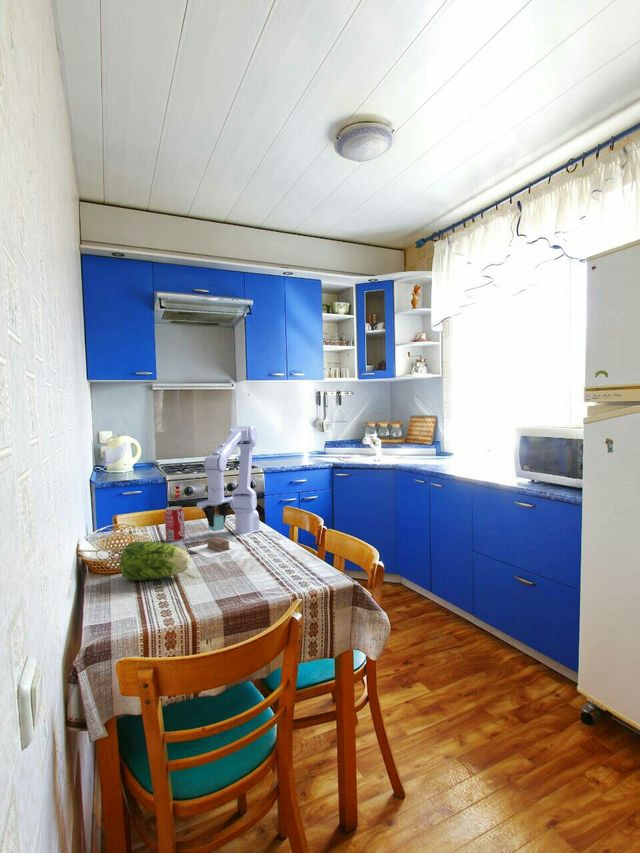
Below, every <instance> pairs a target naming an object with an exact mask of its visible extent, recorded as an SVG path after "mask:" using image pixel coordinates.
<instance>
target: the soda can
mask: <svg viewBox="0 0 640 853" xmlns="http://www.w3.org/2000/svg"><path fill="white" fill-rule="evenodd" d="M164 526H165V541H167V542H168V543H174V542H178V541H179V542H180V541H182V540H183V541H184V540H185V538H186V536H185V535H186V531H185V511H184V509H183V507H182V506H181V505H176V506H175V505H174V506H167V507H166V508H165V512H164Z"/></svg>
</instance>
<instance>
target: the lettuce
mask: <svg viewBox="0 0 640 853" xmlns="http://www.w3.org/2000/svg"><path fill="white" fill-rule="evenodd" d="M190 565H191V555H190V553H189V552H187V551H186V550H185V549H183V548H180V547H179V546H177V545H176V544H172V543H169V542H168V543H167V542H157V541H132V542H131V543H128V545H126V546H124V548H123V549H122V552H121V555H120V559H119V568H120V574H121V576H122V577H124V578H125V579H127V580H128V581H148V580H159V579H166V578H170V577H173V576H175V575H177V574H182V573H183V572H185V571H187V570H188V569H189V568H190Z"/></svg>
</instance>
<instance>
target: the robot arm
mask: <svg viewBox="0 0 640 853" xmlns="http://www.w3.org/2000/svg"><path fill="white" fill-rule="evenodd" d="M257 437H258V436H257V430H256V428H255V426H254V425H249V426H247V425H244V426H243V425H242V426H241V425H239V426H238V425H237V426H236V425H232V426H231V427H230V429H229V430H228V437H227V438H226V440H225V442H224V443H220V444H218V446H217V447H216V449H215V450H214V452H212V454H211V455H207V456H206V457H205V459H204V462H203V468H204V470H205V475H206V476H207V498H208V499H206V500H204V501H203V500H202V501H199V502H196V509H199V510H202V511H203V513H204V515H205V518H206V519H207V523H208V524H209V526H211V527H213V526H214V515H215V511H216V509H215V508H214V506H217V510H218V514H220V515H223V516H224V525H225V522H226V519H227V515H228V513H229V510H230V508H231V510H232V512H234V518H235V519H234V521H235V522H234V524H235V526H234V527H235V528H234V529H235V530H231V532H232V533H235V534H239V535H241V536H243V535H247V534H254V533H258V532H261V529H260V515H259V511H257V509H256V508H257V507H258V506H257V505H258V500H257V492H256V491H255V490H254V489H253V488H251V483H252V482H251V481H252V463H253V461H252V460H253V450H254V449H253V448H254V447H256V445H257ZM235 446H236V447H237V448H239V450H240V451H239V452H240V454H239V456H240V457H239V468H238V470H239V471H238V484H237V487H236V488H235V489H234V490H232V492H231V496H228V497H225V484H224V482H225V481H224V480H225V479H224V471H225V470H226V468H227V463H228V459H229V458H230V457H231V456H232V454H233V453H234V452H233V451H234V450H233V448H234V447H235Z"/></svg>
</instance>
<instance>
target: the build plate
mask: <svg viewBox="0 0 640 853" xmlns="http://www.w3.org/2000/svg"><path fill="white" fill-rule="evenodd" d="M223 539H224V540H227V541H229V549H228V550H225V551H221V552H219V551H216V550H213V549H211V548H208V543H205V544H202V545H198V546H193V547H189V548H188V550H189V551H191V552H194V553H197V554H199V555H200V556H203V557H205V558H210V557H214V556H217V555H222V554H225V553H228V552H232V551H236V550H239V549H243V548H246V546H245V545H243V544H239V543H237V542H234V541H231V540H228V539H225V538H223Z"/></svg>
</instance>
